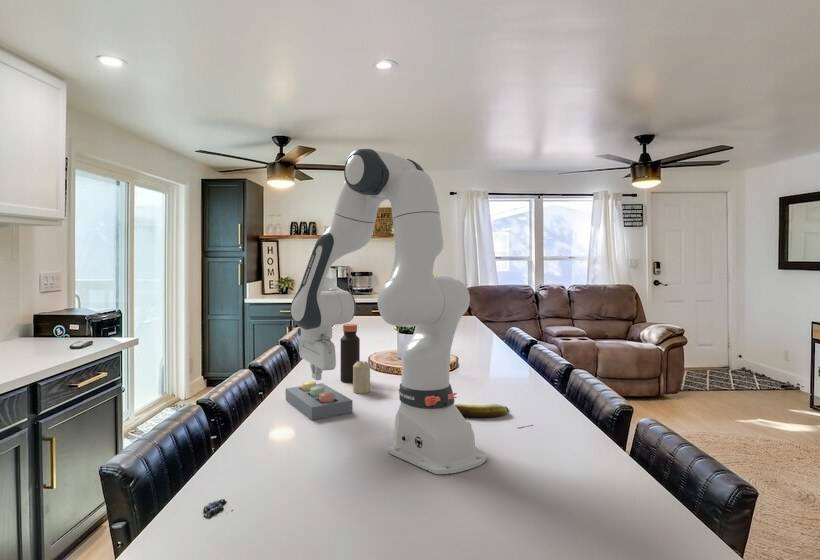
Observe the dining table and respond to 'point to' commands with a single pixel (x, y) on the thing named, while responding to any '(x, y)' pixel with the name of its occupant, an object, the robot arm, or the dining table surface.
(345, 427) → the dining table surface
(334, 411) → the button panel
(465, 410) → the green and grey pieces
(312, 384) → the mustard button
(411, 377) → the robot arm
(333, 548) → the dining table surface
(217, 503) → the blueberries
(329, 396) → the brick button
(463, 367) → the dining table surface
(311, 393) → the sage button
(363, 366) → the candle
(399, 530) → the dining table surface
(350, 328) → the bottle
